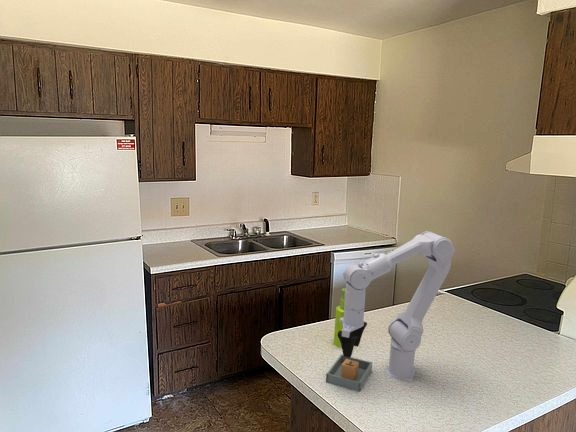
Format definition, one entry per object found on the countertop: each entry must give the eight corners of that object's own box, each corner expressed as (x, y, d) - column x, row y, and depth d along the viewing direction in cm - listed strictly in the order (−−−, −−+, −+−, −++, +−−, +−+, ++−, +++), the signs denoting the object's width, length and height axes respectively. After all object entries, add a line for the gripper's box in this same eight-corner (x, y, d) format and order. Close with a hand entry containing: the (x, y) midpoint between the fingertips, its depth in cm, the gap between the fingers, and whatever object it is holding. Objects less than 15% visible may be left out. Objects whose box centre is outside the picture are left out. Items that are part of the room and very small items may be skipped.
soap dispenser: (353, 350, 144) (357, 293, 141) (332, 347, 146) (336, 291, 142) (354, 342, 150) (358, 287, 147) (334, 339, 151) (338, 285, 148)
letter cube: (345, 371, 130) (346, 358, 129) (358, 374, 128) (358, 361, 128) (340, 377, 127) (341, 364, 126) (354, 380, 125) (355, 367, 124)
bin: (340, 363, 135) (341, 354, 135) (371, 371, 131) (372, 362, 131) (325, 383, 124) (326, 373, 123) (359, 393, 120) (360, 383, 119)
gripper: (348, 296, 132) (345, 337, 134) (332, 312, 119) (329, 358, 121) (371, 300, 129) (367, 343, 131) (357, 317, 116) (353, 364, 118)
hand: (351, 350), depth 126 cm, fingers open, 7 cm apart
